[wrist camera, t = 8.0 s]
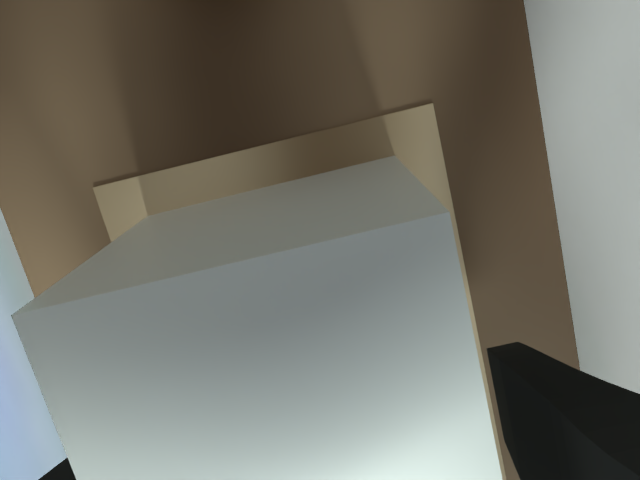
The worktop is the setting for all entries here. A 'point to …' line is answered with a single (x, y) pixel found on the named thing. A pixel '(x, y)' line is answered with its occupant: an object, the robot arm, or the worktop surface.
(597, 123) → the worktop surface
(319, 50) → the walnut board
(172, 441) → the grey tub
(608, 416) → the robot arm
